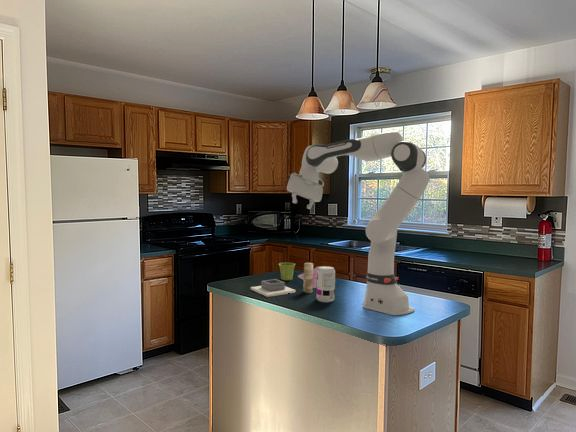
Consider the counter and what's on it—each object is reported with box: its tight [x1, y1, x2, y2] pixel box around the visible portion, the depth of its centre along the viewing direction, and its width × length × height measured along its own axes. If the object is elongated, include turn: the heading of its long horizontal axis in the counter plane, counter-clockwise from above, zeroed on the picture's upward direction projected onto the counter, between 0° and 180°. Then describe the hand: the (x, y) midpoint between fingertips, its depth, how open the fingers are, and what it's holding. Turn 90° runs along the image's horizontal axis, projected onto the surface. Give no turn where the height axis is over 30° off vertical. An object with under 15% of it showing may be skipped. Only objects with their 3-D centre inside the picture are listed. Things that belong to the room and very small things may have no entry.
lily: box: [297, 266, 320, 289], centre depth 216 cm, size 12×12×10 cm
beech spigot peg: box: [303, 262, 314, 294], centre depth 203 cm, size 4×4×14 cm
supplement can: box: [315, 265, 336, 303], centre depth 189 cm, size 8×8×15 cm
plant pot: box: [278, 262, 296, 281], centre depth 230 cm, size 9×9×9 cm
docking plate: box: [250, 278, 296, 298], centre depth 204 cm, size 16×16×5 cm
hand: (301, 205), depth 199 cm, fingers open, 8 cm apart
